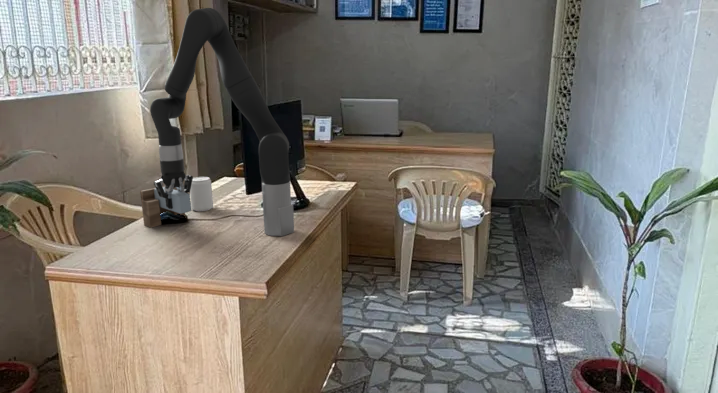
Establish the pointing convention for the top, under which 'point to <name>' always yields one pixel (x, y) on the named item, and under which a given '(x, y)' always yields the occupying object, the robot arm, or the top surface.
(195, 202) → the beverage can
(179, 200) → the grey rectangular block
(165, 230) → the top surface
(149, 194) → the headboard
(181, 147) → the robot arm
